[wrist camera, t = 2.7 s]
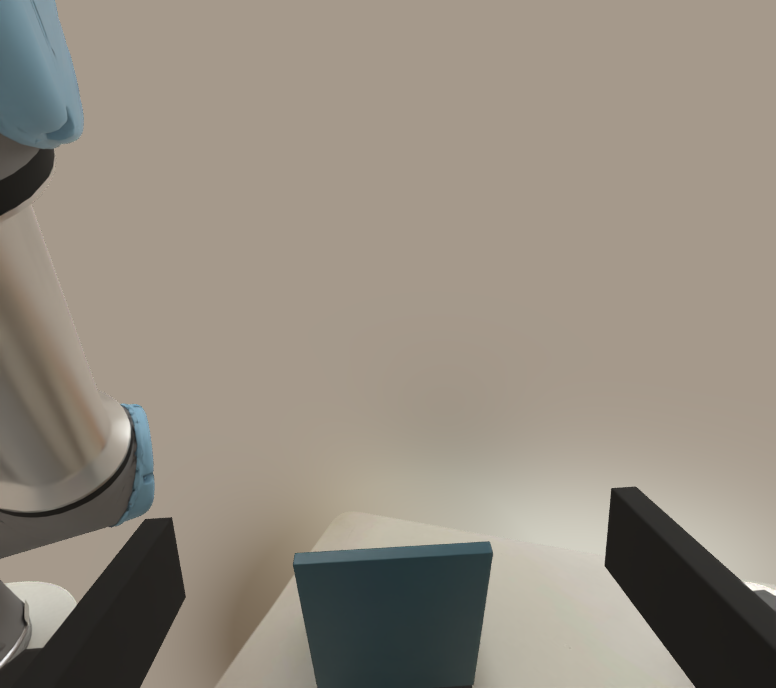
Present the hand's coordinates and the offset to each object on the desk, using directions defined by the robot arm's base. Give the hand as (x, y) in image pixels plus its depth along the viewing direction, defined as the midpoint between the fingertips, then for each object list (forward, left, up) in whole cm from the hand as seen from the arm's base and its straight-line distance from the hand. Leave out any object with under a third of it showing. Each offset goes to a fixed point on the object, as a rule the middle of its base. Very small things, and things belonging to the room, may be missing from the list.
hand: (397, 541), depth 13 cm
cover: (+7, +11, -16) cm, 21 cm away
